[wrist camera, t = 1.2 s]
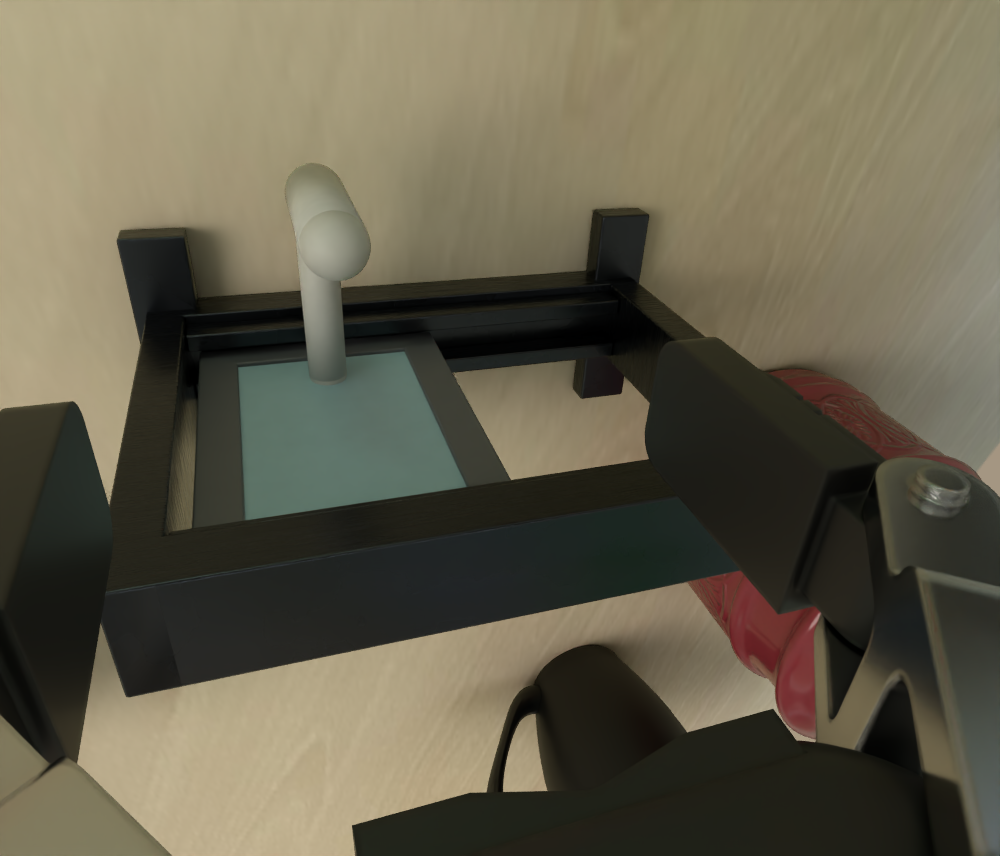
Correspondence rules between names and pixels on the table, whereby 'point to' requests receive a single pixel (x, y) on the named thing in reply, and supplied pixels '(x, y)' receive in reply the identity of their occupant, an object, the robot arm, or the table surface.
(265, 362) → the window pane
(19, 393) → the table surface
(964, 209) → the table surface
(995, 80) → the table surface
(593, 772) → the mug
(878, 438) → the kitchen canister
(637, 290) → the window frame
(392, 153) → the table surface
